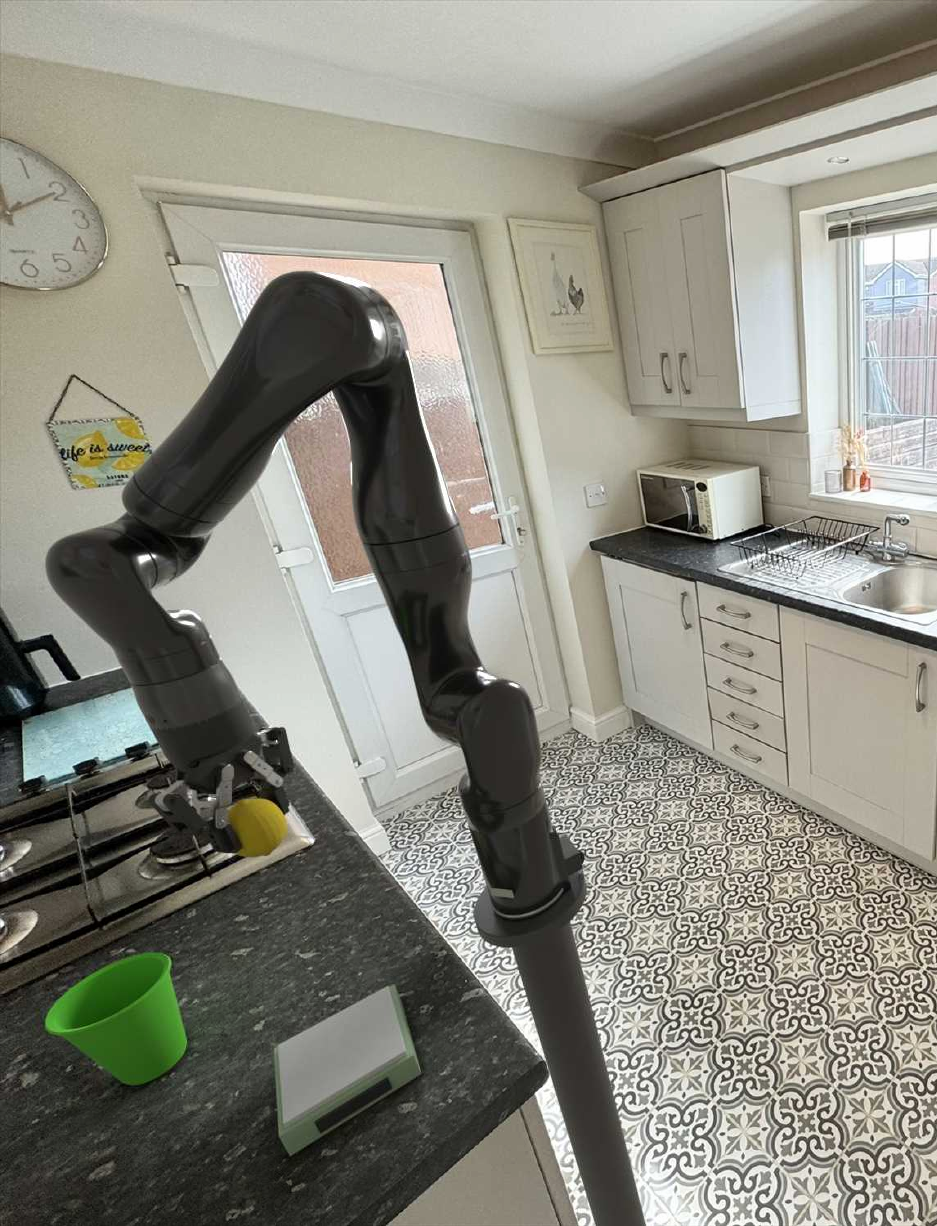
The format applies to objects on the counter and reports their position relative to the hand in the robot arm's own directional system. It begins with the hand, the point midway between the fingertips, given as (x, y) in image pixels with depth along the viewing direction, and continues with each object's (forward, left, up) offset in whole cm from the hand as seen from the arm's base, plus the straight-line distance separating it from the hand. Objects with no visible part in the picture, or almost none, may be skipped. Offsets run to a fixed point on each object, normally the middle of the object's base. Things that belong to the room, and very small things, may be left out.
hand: (257, 831), depth 74 cm
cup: (+14, +6, -19) cm, 25 cm away
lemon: (0, 0, -4) cm, 4 cm away
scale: (-2, +22, -19) cm, 29 cm away
